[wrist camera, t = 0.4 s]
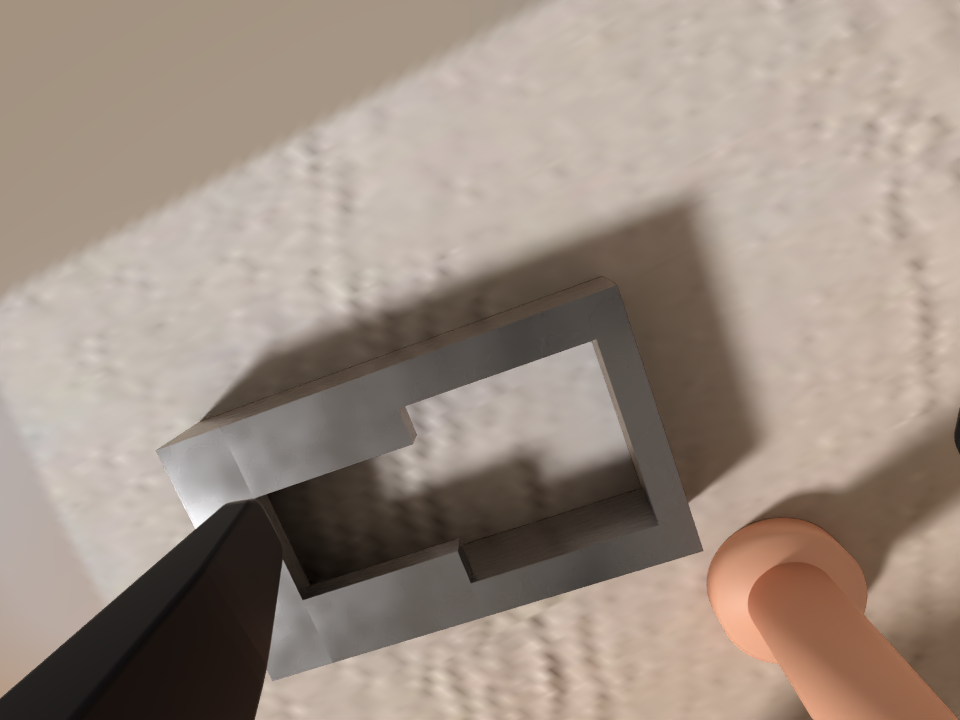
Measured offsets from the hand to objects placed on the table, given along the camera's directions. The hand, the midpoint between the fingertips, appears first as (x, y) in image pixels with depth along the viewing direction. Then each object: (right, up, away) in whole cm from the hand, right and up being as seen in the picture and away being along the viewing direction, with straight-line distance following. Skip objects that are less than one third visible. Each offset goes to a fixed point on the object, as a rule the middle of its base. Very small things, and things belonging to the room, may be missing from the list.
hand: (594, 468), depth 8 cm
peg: (+12, -8, +19) cm, 24 cm away
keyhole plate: (-3, -3, +18) cm, 19 cm away
